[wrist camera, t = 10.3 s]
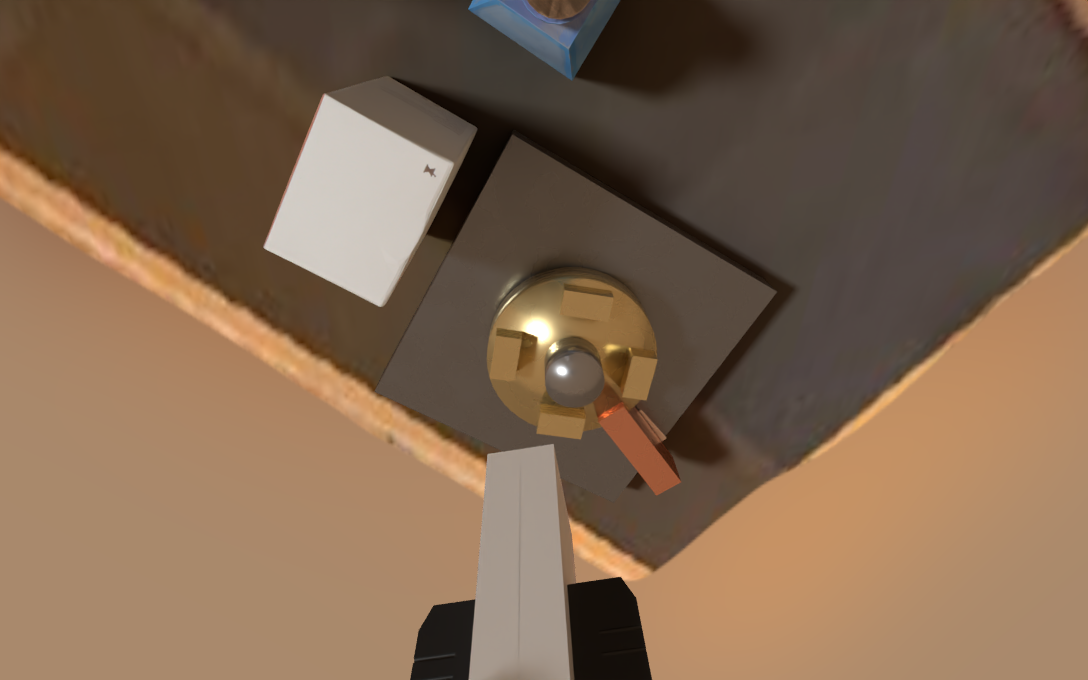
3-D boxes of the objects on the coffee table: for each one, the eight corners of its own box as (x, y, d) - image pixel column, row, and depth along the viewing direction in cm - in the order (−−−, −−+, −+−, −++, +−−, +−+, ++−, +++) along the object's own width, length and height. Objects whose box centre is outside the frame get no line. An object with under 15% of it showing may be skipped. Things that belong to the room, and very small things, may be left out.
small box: (386, 73, 39) (323, 87, 27) (480, 127, 40) (459, 163, 28) (336, 191, 42) (259, 250, 30) (425, 237, 43) (385, 311, 31)
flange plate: (381, 374, 47) (355, 435, 40) (513, 129, 40) (509, 148, 33) (611, 483, 52) (625, 555, 45) (766, 280, 45) (812, 326, 38)
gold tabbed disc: (455, 327, 43) (449, 351, 40) (592, 234, 40) (598, 251, 37) (599, 497, 49) (604, 529, 46) (725, 425, 47) (740, 454, 43)
